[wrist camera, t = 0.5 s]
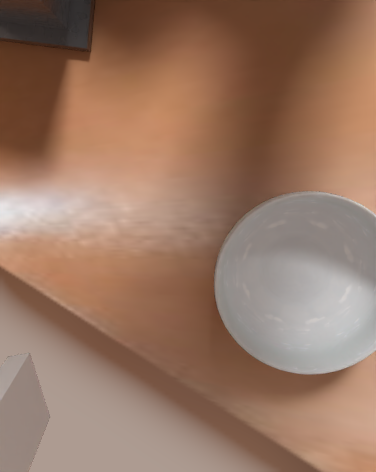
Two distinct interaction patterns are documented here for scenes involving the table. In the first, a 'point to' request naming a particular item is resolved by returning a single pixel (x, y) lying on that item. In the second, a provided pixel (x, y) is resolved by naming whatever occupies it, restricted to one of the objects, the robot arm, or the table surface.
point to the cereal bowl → (301, 282)
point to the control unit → (48, 23)
